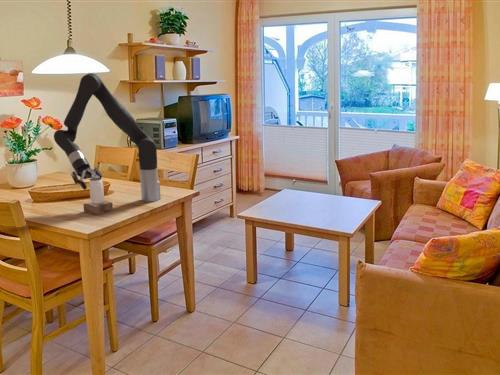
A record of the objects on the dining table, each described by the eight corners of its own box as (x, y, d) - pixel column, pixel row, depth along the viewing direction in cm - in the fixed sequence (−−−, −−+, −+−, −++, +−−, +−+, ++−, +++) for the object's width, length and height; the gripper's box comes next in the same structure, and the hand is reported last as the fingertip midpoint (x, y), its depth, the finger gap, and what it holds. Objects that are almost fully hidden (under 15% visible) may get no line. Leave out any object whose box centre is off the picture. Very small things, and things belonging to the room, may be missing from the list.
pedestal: (101, 207, 247) (100, 199, 246) (113, 210, 241) (112, 202, 240) (84, 211, 240) (83, 203, 239) (95, 215, 233) (94, 206, 232)
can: (106, 200, 243) (104, 177, 240) (102, 204, 236) (100, 180, 233) (93, 200, 242) (91, 177, 240) (89, 204, 236) (87, 180, 233)
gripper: (68, 159, 236) (83, 185, 231) (93, 155, 246) (108, 180, 242) (63, 168, 240) (78, 194, 236) (88, 164, 251) (103, 189, 246)
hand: (93, 187), depth 239 cm, fingers open, 8 cm apart
